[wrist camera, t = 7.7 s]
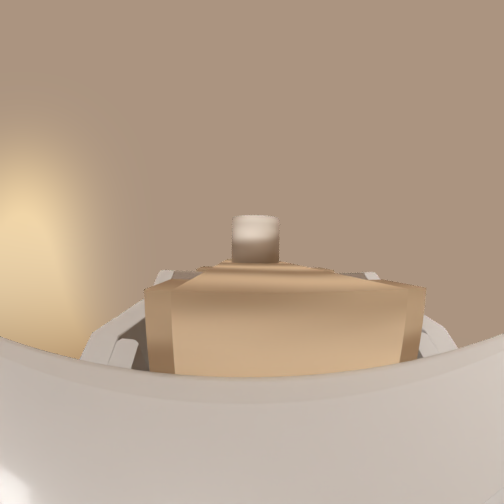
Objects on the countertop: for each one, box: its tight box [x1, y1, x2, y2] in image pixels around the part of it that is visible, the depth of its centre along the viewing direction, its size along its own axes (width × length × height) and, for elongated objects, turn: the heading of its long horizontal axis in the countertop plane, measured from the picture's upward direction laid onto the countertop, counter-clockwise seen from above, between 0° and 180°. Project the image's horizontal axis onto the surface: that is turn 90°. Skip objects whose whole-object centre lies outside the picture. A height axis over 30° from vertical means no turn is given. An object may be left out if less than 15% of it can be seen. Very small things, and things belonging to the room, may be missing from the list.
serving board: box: [144, 215, 426, 377], centre depth 16 cm, size 22×6×5 cm, turn 3°
